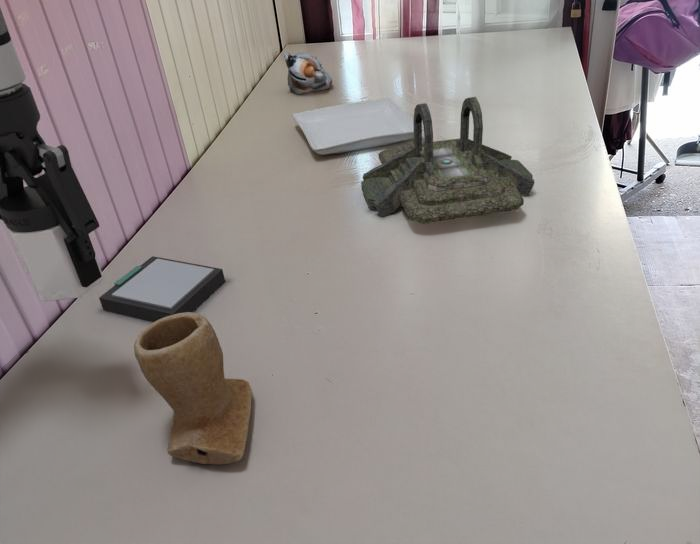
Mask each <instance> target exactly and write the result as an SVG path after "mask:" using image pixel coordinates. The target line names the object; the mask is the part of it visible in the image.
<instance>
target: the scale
mask: <svg viewBox="0 0 700 544" xmlns="http://www.w3.org/2000/svg"><path fill="white" fill-rule="evenodd" d="M225 282H226V279H225V275H224V270H223V268H219V267H214V266H208V265H202V264H197V263H192V262H187V261H182V260H175V259H169V258H164V257H159V256H154V255H153V256H151V257H149V258H148V259H147V260H145V261H144V262H143V263H142V264H140V265H136V266H135V267H133V268H132V269H131V270H129V271H128V272H127V273H125V274H124V275H123V276H121V277H120V278H119V279H118V280H116V281H115V282H114V283H113V284H114V285H113V286H112V287H111V288H109V289H108V290H107V291H106V292H104V293H103V294H102V295H100V296H98V299H99V302H100V304H101V307H102V310H103V311H105V312H110V313H114V314H118V315H123V316H127V317H132V318H137V319H141V320H144V321H149V322H152V323H154V322H155V321H157V320H159V319H161V318H164V317H167V316H170V315H174V314H178V313H185V312H193V313H194V311H195V310H197V308H199V307H200V306H201V305H202V304H203V303H204V302H205V301H206V300H207V299H208V298H209V297H210V296H212V295H213V293H215V292H216V291H217V290H218V289H219V288H220V287H221V286H222V285H223V284H224V283H225Z"/></svg>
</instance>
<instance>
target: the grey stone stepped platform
mask: <svg viewBox="0 0 700 544" xmlns="http://www.w3.org/2000/svg"><path fill="white" fill-rule="evenodd" d="M413 111H414V112H413V119H414V138H413V143H412V144H408V145H400V146H393V147H387V148H385V149H382V150H381V151H380V152H379V153H378V159H379V161H380V163H381V164H379V165H377V166H375V167H373V168H372V169H370V170H368V171H366V172H365V173H363V175H362V181H361V182H360V185H361V186H360V187H361V191H362V193H363V196H364V199H365V202H366V203H367V205H368V206H369V207H374V208H375V210H376V212H377V214H378V216H381V218H383V217H386V216H387V215H390V214H392V213H395V211H396V210H397V209H398V208H399V207H402V208H403V209H404V211H405V213H406V214H407V216H408V218H409V220H410V221H412V222H414V223H420V224H424V225H427V224H433V223H439V222H446V221H453V220H460V219H461V220H462V219H465V218H466V219H468V218H474V217H481V216H488V215H494V214H501V213H508V212H514V211H515V212H516V211H518V210H519V209H520V208H521V207H522V206H524V201H525V199H524V198H523V196H530V194H531V191H532V189H533V188H534V185H535V179H534V177H533V176H534V175H533V174H532V173H531V171H530V170H528V169H527V167H525V165H524V164H522V162H521V161H520V160H518V159H512V158H513V156H512V155H509V154H508V153H505V152H503V151H501V150H498V149H495V148H492V147H489V146H488V145H485V144H483V134H484V124H483V123H484V122H483V121H484V120H483V111H482V108H481V104H480V102H479V100H478V98H477V96H471V97H466V98H464V100H463V102H462V105H461V111H460V128H459V129H460V131H459V138H451V139H450V138H449V139H442V140H437V141H434V129H433V118H432V115H431V111H430V109H429V106H428V103H426V102H425V103H418V104H416V105H415V107H414V110H413ZM470 115H472V119H473V120H472V122H473V137H472V139H470V138H469V137H470V136H469V135H470ZM422 128H423V129H424V130H423V131H422ZM423 136H424V137H423ZM423 139H424V140H423Z"/></svg>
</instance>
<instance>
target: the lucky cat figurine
mask: <svg viewBox="0 0 700 544" xmlns="http://www.w3.org/2000/svg"><path fill="white" fill-rule="evenodd" d="M283 57H284V62H285V64H286V67H287V71H288V72H287V86H288V88H289V90H290V92H291V93H294V94H296V95H303V94H306V93H310V92H317V91H323V90H331V89H332V84H333V79H332V77H331V75H330V74H329V73H328V72H327V71H326V70H325V68H324V67H323V65H322V63H321V62H320V61H319V60H318V58H317V56H316V55H313V56H312V55H311V54H309V53H306V52H297V53H295V54H293V55H291V54H290V52H286V53H285V54H284V55H283Z"/></svg>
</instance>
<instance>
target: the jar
mask: <svg viewBox="0 0 700 544" xmlns="http://www.w3.org/2000/svg"><path fill="white" fill-rule="evenodd" d="M0 215H1V218H2V220H1V221H2V222H3V223H4V222H5V223H4V225H5V227H6V228H7V230H8V232H9V234H10V236H11V239H12V241H13V243H14V246H15V247H16V248H15V250H16V252H17V255H18V256H19V259H20V261H21V263H22V265H23V267H24V269H25V271H26V274H27V275H28V276H29V278H30V280H31V282H32V284H33V287H34V289H35V290H36V293H37V294H38V296H39V298H40V300H41V301H42V302H53V301H62V300H73V299H79V298H81V297H82V296H84V295H85V294H86V293H88V292H89V291H90V290H92V289H93V288H94V287H96V286H97V285H99V284H100V283H102V282H103V281H105V277H104V274H103V271H102V268H101V265H100V263H99V260H98V258H97V255H96V254H95V259H96V262H97V265H98V267H99V270H100V273H101V275H102V277H101V278H99V279H98V280H96V281H95V282H94V283H92V284H91V285H90V286H88V287H87V288H86V287H82V285H81V283H80V280H79V277H78V275H77V272H76V270H75V267H74V265H73V262H72V260H71V257H70V255H69V252H68V250H67V247H66V245H65V242H64V240H63V239H65V238H66V237H68V236H67V235H66V233H65V232H64V230H63V229H62V227H61V226H60V225H59V223H58V222H57V220H56V217H55V215H54V212H53V210H52V207H51V206H50V205H48V204H45V203H44V202H43V200H42V199H41V197H40V196H39V194H38V193H37V192H36V190H35V189H34V188H30V187H28V185H26V186H24V189H23V190H22V191H20V192H18V193H16V194H14V195H12V196H10V197H8V198H7V197H3V198H2V199H1V200H0ZM72 227H74V226H73V225H72Z"/></svg>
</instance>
